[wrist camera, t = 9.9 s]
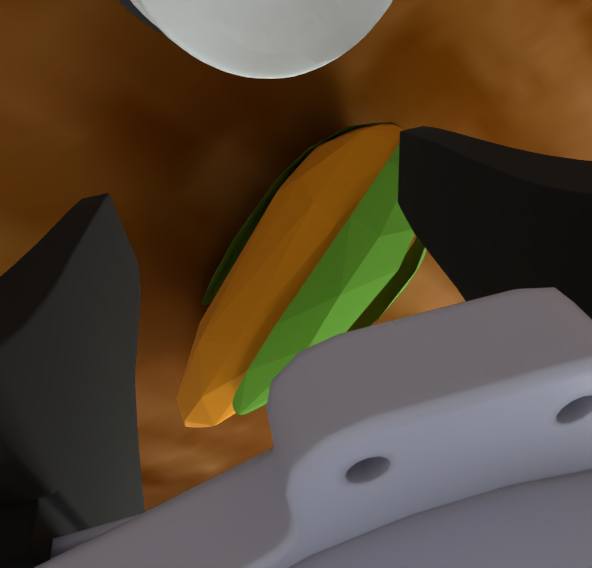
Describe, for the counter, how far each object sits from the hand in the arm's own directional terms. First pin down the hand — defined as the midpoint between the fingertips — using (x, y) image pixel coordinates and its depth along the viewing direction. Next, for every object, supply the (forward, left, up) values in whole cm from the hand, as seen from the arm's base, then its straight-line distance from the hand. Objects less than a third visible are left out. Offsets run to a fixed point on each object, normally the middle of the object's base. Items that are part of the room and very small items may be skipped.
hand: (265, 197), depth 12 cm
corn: (-10, -1, -11) cm, 15 cm away
